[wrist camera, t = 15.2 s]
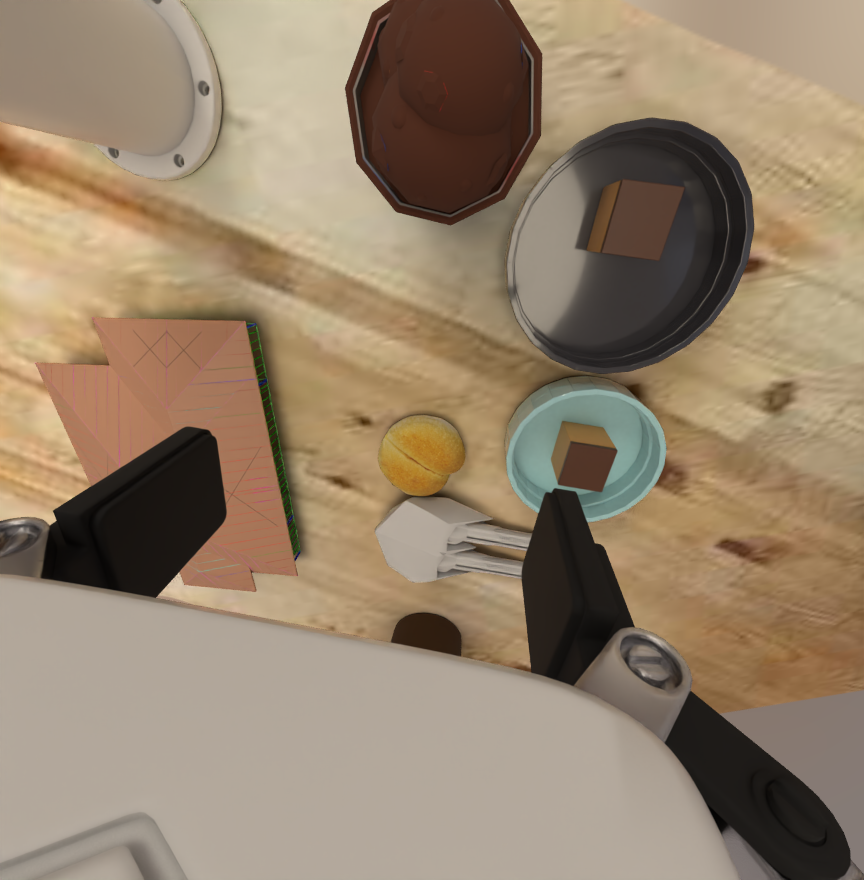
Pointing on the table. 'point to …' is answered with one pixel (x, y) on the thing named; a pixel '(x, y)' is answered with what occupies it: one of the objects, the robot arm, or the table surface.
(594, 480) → the snack cake
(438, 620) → the olive oil
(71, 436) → the house
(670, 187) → the snack cake
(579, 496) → the blue bowl
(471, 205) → the ice cream bowl
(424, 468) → the bread roll
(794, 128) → the table surface
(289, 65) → the table surface
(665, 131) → the charcoal bowl
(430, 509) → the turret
